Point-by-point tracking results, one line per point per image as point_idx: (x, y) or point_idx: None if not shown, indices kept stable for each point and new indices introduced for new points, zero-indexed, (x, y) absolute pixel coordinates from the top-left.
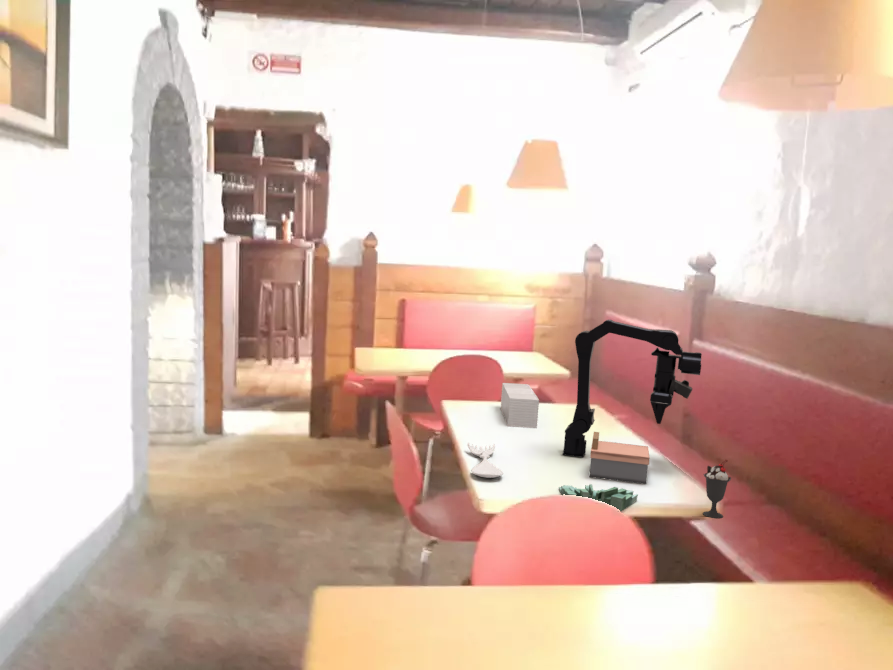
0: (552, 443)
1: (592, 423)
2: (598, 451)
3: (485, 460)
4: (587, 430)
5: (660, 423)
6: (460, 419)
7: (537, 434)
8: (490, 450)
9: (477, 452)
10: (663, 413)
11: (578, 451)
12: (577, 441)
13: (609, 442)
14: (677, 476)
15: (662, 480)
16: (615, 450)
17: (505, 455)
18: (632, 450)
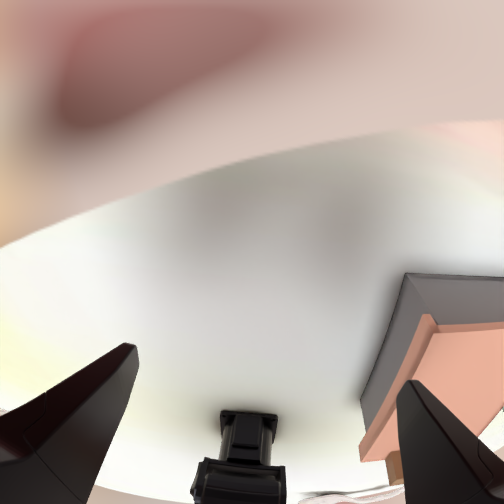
0: (167, 441)
1: (278, 498)
2: (480, 431)
3: (400, 492)
4: (274, 480)
5: (419, 381)
6: (116, 487)
7: (114, 444)
8: (321, 499)
9: (329, 502)
10: (483, 446)
11: (268, 432)
12: (269, 458)
13: (384, 436)
14: (422, 153)
15: (476, 223)
16: (478, 409)
17: (312, 484)
18: (485, 375)
